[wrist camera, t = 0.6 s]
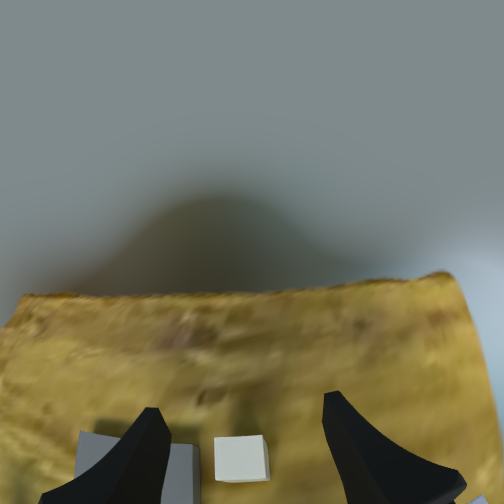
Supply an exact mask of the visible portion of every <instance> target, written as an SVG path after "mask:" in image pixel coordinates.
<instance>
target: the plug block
mask: <svg viewBox="0 0 504 504" xmlns="http://www.w3.org/2000/svg"><path fill="white" fill-rule="evenodd" d="M214 447H215V480H219V481H224V482H255V481H268V480H270V469H269V459H268V448H267V444H266V442H265V440H264V438H263V436H262V435H255V436H241V437H215V438H214Z"/></svg>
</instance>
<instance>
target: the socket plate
mask: <svg viewBox="0 0 504 504" xmlns="http://www.w3.org/2000/svg"><path fill="white" fill-rule="evenodd" d="M120 439H121V438H117V437H111V436H105V435H99V434H94V433H89V432H85V431H80V433H79V440H78V447H77V455H76V465H75V476H74V479H75V478H77V477H78V476H80V475H81V474H83V473H84V472H85V471H87V470H88V469H90V468H91V467H92V466H94V465H95V464H96V463H97V462H98V461H99V460H101V459H102V458H103V457H104V456H105V455H106V454H107V453H108V452H109V451H110V450H111V449H112V448H113V447H114V446H115V444H116V443H117V442H118V441H119V440H120ZM161 504H201V493H200V448H198V447H196V446H195V445H193V444H174V443H171V448H170V456H169V461H168V466H167V470H166V475H165V480H164V485H163V489H162V496H161Z"/></svg>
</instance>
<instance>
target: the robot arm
mask: <svg viewBox="0 0 504 504" xmlns="http://www.w3.org/2000/svg"><path fill="white" fill-rule="evenodd" d="M322 424H323V428H324V432H325V436H326V440H327V443H328V446H329V448H330V451H331V454H332V456H333V459H334V461H335V464H336V466H337V469H338V472H339V474H340V477H341V480H342V483H343V486H344V490H345V494H346V498H347V503H348V504H456V503H455V502H454V499H455V498H456V497H458V496H459V495H460V494H461V493H462V492H463V491H464V490H465V488H466V486H467V483H466V482H465V480H464V478H463V477H462V475H461V474H460V473H459V472H458V470H455V469H451V468H447V467H444V466H441V465H438V464H435V463H432V462H430V461H427V460H425V459H423V458H421V457H419V456H417V455H415V454H413V453H411V452H409V451H407V450H405V449H404V448H402V447H400V446H399V445H397V444H396V443H394V442H393V441H391V440H390V439H388V438H387V437H386V436H384V435H383V434H382V433H381V432H379V431H378V430H377V429H376V428H375V427H373V426H372V425H371V424H370V423H369V422H368V421H367V420H366V419H365V418H364V417H363V416H361V415H360V414H359V413H358V412H357V410H356V409H355V408H354V407H353V406H352V405H351V404H350V403H349V402H348V401H347V400H346V398H345V397H344V396H343V395H342V394H341V392H339V391H333V392H329V393H324V405H323V417H322ZM170 448H171V433H170V431H169V429H168V427H167V425H166V423H165V421H164V419H163V417H162V415H161V412H160V410H159V408H149V407H146V408H145V409H144V410H143V412H142V413H141V414H140V415H139V417H138V418H137V419H136V420H135V422H134V423H133V424H132V426H131V427H130V428H129V429H128V431H127V432H126V433H125V434H124V435H123V437H122V438H121V439H120V440H119V441H118V442H117V443H116V444H115V446H114V447H113V448H112V449H111V450H110V451H109V452H108V453H107V454H106V455H105V456H104V457H103V458H102V459H101V460H99V461H98V462H97V463H96V464H95V465H94V466H92V467H91V468H90V469H88V470H87V471H85V472H84V473H83V474H81V475H80V476H78V477H77V478H75V479H73V480H72V481H70V482H68V483H66V484H64V485H62V486H60V487H58V488H56V489H53V490H51V491H48V492H45V493H42V495H41V498H40V500H39V503H38V504H161V496H162V489H163V485H164V480H165V475H166V470H167V466H168V461H169V456H170ZM468 504H488V503H487V501H486V499H485V498H484V496H483V495H480V496H478V497H477V498H475V499H474V500H472V501H471V502H469V503H468Z"/></svg>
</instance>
